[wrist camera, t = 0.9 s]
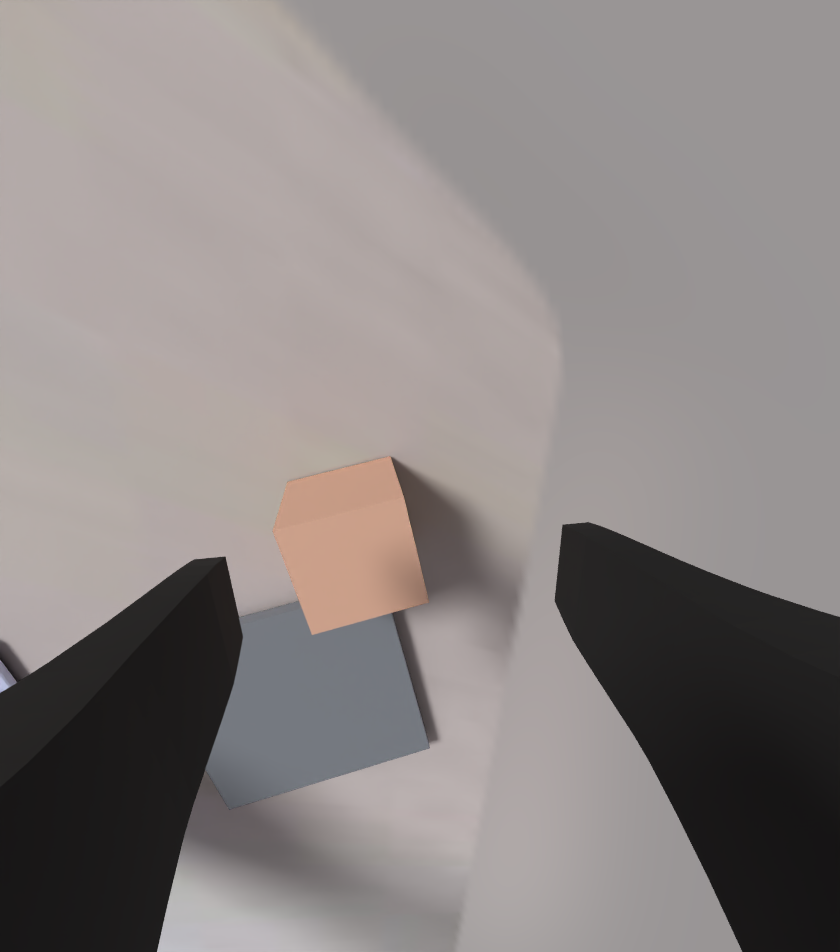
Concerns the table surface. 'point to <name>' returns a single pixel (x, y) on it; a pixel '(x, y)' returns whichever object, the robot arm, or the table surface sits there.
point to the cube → (349, 545)
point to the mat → (312, 705)
